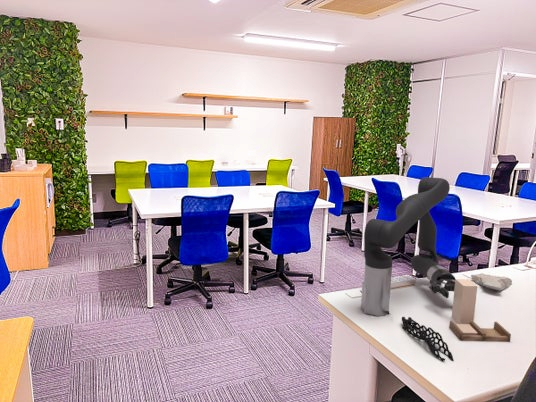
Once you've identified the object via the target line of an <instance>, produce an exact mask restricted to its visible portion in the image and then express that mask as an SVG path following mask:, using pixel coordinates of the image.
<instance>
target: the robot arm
mask: <svg viewBox="0 0 536 402" xmlns="http://www.w3.org/2000/svg"><path fill="white" fill-rule="evenodd" d="M449 194H450V182H449V181H448V180H447V179H445V178H443V177H427V176H423V177H421V178H420V180H419V182H418V186H417V193H414V194H411V195H409V196H407V197H405V198H404V199H403V200H402V201H401V202H399V204H398V205H397V206H396V207H395V208H396V209H395V216H396V217H395V218H396V219H395V220H393V221H389V220H383V219H378V218H371V219H369V220H368V221H367V223H366V225H365V227H364V232H363V233H364V236H363V243H364V244H363V245H364V246H363V247H364V249H363V253H364V254H363V256H364V276H363V277H364V279H363V281H362V282H361V283H362V284H361V285H362V286H361V300H360V301H361V305H360V307H361V309H362V310H363V313H364V314H365V315H367V314H368V315H370V316H377V317H378V316H379V317H382V316H386V315H388V314H389V312H390V311H389V310H390V301H391V289H392V288H391V286H392V285H391V284H392V276H393V275H392V273H393V272H392V271H393V258H392V257H391V256H390V255H389V254H388V253H386V252H385V251H384V250H383V249H382V248H384V249H392V248H394V247H396V245H397V244H398V243H399V242H400V241H401V239H402V238H403V237H404V236H405V235H406V233H407V232H408V231H409V230H410V229H411V228H412V227H413V226H414V225H415V224H416V223H419V224H418V226H419V227H418V234H417V235H418V236H417V237H418V239H417V248H418V249H420V250H423V251H427V255H426V254H416V255H413V256H412V258H411V261H410V264H411V268H412V270H413V271H414V272H416V273H417V274H420V275H421V276H424V277H426V278H427V279H428V280H429V281H428V282H429V283H428V288H429V289H430V291H431V292H432V293H433V294H439V295H442V296H443V297H444V298H445V299H450V298H449V297H450V293H449V292H452V293H454V288H455V279H456V277H455V276H454V275H453V274H452V273H451V272H450V270H447V269H446V268H445V267H443V266H441V264H439V259H438V255H437V234H438V230H437V226H436V223H435V221H434V218H433V217H432V215H431V212H430V210H431V209H432V208H434V207H435V206H436V205H438V204H440V203H441V202H443V201H444V200H446V198H447V197H448V195H449Z"/></svg>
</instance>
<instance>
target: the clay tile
mask: <svg viewBox="0 0 536 402" xmlns="http://www.w3.org/2000/svg"><path fill="white" fill-rule="evenodd" d="M455 325H456V326H457V327H458V328H459V329H460V330H461V331H462V332H463V335H478V333H477V332H476V331H475V330H474V329H473V328H472V327H471V326H470V325H469V324H457V323H455Z"/></svg>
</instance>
